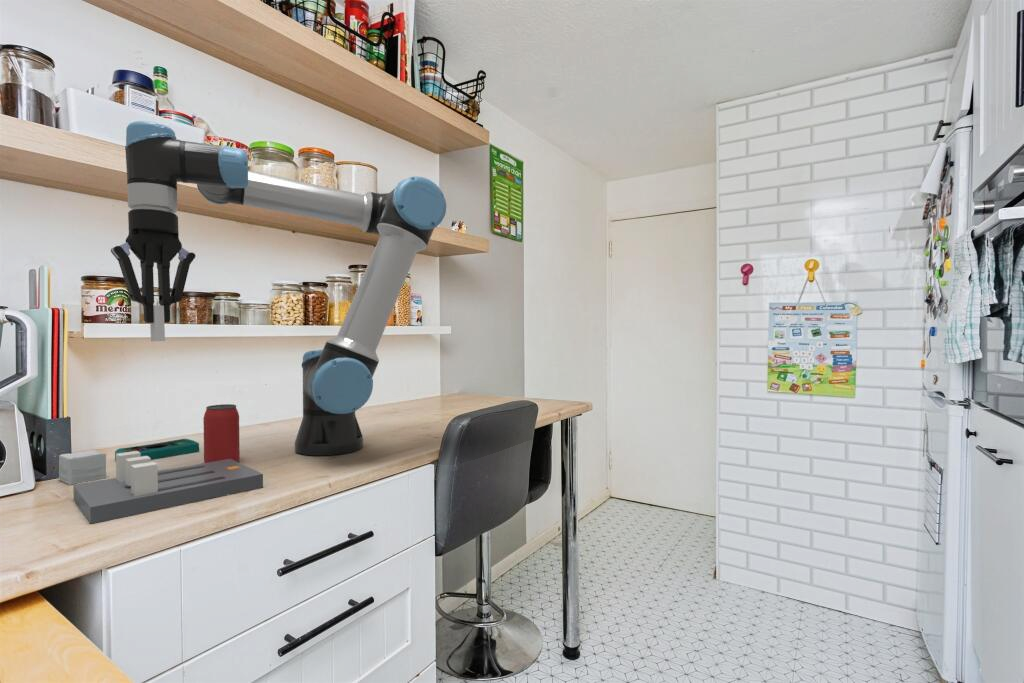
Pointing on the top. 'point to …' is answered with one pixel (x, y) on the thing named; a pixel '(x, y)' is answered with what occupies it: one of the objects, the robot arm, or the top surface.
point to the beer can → (221, 433)
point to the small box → (82, 467)
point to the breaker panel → (161, 487)
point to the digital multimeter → (164, 449)
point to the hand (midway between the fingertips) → (157, 341)
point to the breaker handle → (132, 462)
